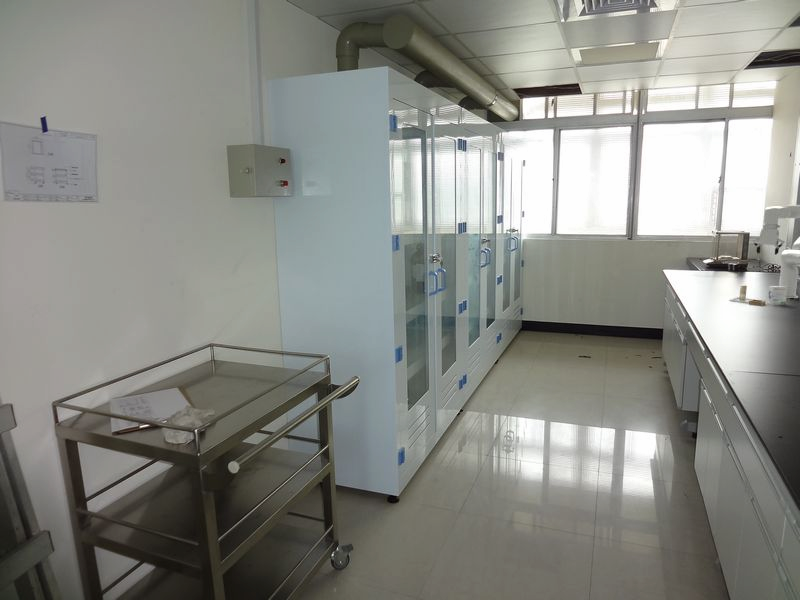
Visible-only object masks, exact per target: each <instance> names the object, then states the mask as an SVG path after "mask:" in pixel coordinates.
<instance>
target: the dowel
mask: <svg viewBox="0 0 800 600" xmlns="http://www.w3.org/2000/svg"><path fill="white" fill-rule="evenodd" d="M747 287H748V286H747V285H744V284H741V285H740V289H739V300H740V301H745V300H746V298H747Z"/></svg>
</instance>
